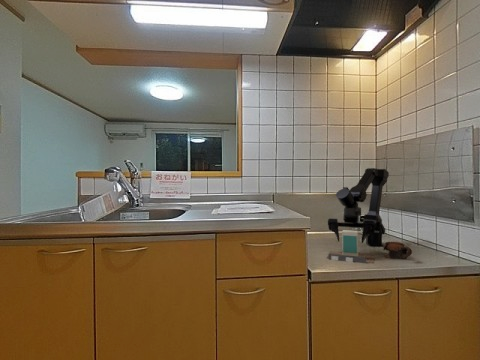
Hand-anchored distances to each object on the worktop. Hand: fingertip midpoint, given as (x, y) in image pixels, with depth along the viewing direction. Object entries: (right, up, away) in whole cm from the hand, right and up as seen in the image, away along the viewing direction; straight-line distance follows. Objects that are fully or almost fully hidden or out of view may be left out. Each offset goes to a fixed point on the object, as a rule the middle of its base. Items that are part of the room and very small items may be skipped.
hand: (350, 241), depth 118 cm
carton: (0, -7, +1) cm, 7 cm away
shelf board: (+1, -8, +2) cm, 8 cm away
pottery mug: (+20, -8, +1) cm, 21 cm away
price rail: (-3, -8, -4) cm, 9 cm away
